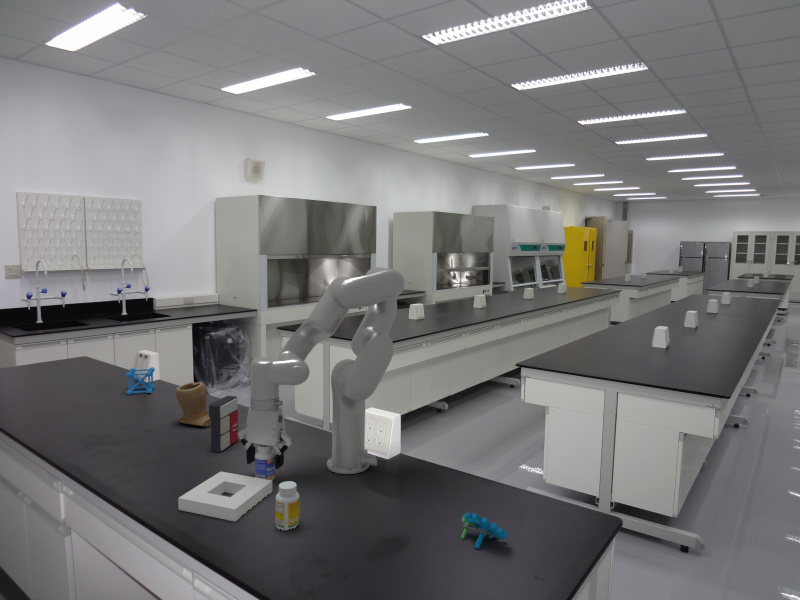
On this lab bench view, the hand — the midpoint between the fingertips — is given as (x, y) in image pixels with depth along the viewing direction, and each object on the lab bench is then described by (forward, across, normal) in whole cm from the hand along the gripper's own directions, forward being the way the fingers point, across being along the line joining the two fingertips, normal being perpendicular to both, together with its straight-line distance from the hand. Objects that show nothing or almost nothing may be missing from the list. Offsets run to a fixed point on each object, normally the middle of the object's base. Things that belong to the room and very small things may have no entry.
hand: (265, 464), depth 141 cm
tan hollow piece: (+4, +47, -30) cm, 56 cm away
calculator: (+4, +25, -16) cm, 30 cm away
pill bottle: (+4, 0, 0) cm, 4 cm away
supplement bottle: (+4, -18, +19) cm, 27 cm away
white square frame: (+4, +2, +14) cm, 15 cm away
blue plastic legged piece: (+4, -62, +10) cm, 63 cm away
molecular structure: (+4, +97, -55) cm, 112 cm away
